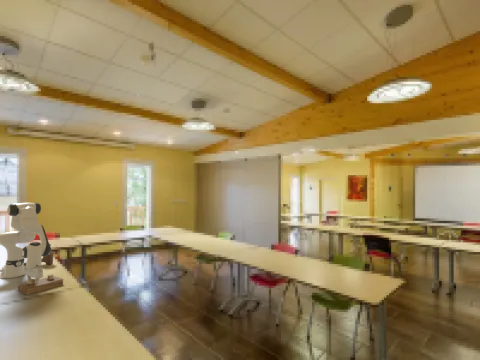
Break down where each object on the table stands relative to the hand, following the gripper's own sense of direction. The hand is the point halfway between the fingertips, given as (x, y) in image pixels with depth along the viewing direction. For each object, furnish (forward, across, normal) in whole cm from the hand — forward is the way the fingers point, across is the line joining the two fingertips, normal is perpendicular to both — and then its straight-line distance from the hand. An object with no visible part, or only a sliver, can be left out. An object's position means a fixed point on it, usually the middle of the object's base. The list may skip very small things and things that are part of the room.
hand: (32, 282), depth 191 cm
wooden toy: (+6, +62, -37) cm, 72 cm away
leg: (+6, 0, 0) cm, 6 cm away
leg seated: (+6, 0, -12) cm, 13 cm away
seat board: (+6, 0, -6) cm, 9 cm away
